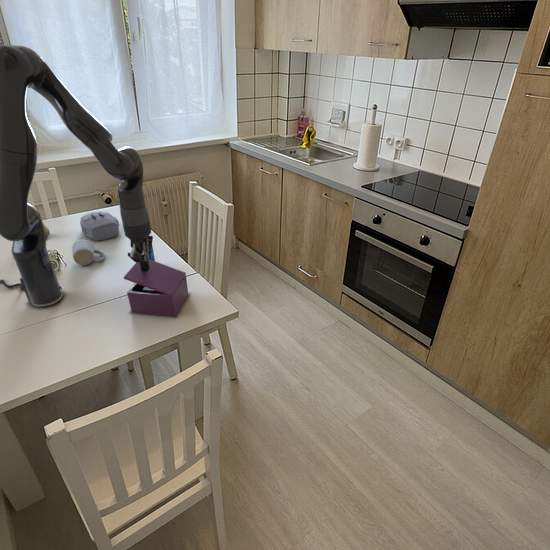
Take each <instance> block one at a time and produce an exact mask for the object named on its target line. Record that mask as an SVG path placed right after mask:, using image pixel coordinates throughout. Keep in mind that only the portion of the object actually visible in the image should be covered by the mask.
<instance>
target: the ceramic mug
mask: <svg viewBox="0 0 550 550" xmlns="http://www.w3.org/2000/svg"><path fill="white" fill-rule="evenodd" d="M95 254H96V255H99V256H101V257H97V256H95ZM104 258H105V253H104V252H102V251H101V250H98V249H96V248H95V245H94V244H93V242H92V241H90V240H88V239H78V240H76V241H75V242H74V243H73V245H72V259H73V261H74V262H75V263H76V264H78V265H79V266H87V265H88V266H89V265H90V264H91V263H93V261H95V262H101V261H103V260H104Z"/></svg>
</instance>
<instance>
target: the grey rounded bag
mask: <svg viewBox="0 0 550 550" xmlns="http://www.w3.org/2000/svg"><path fill="white" fill-rule="evenodd" d="M79 223H80V228H81V231H82V232H83V234H85V235H86V236H87V237H88V238H89V239H92V240H94V241H104V240H108V239H111V238H114V237H116V236H118V235H119V232H120V224H119V219H118V218H117V217H116V216H113V214H111V213H110V212H108V211H104V210H103V211H102V210H97V211H91V212H88V213H85V214H84V215H82V216H81V217H80V221H79Z"/></svg>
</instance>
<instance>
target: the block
mask: <svg viewBox="0 0 550 550" xmlns="http://www.w3.org/2000/svg"><path fill="white" fill-rule="evenodd" d="M142 292H143V293H153V294H162V293H161V292H158V291H155V290H153V289H150V288H147V287H145V286H144V288H143V289H142Z"/></svg>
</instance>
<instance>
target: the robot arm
mask: <svg viewBox="0 0 550 550" xmlns="http://www.w3.org/2000/svg"><path fill="white" fill-rule="evenodd" d="M27 89H32V90H33V91H35V92H36V93H38V94H39V95H40V96H42V98H44V99H45V100H46V101H47V102H48V103H49V104H50V105H51V106H52V107H53V109H54V110H55V111H56V113H57V114H58V116H59V118H60V120H61V121H62V123H63V125H64V126H65V127H66V129H68V130H67V131H69V132H70V133H71V134H72V135H73V136H74V137H75V138H76V139H77V140H78V141H79V142H80V143H82V145H84V146H85V147H86V148H87V149H88V150H90V151H91V153H92V154H93V156H94V158H95V159H96V161H98V163H99V165H100V166H101V167H102V168H103V170H104V171H105V172H106V173H107V174H108V175H109V176H111V177H112V178H114V179H116V180H119V181H120V182H119V185H118V186H117V188H116V195H117V196H116V197H117V200H118V205H119V214H120V218H121V224H122V227H123V233H124V236H125V237H126V238H127V239H129V242H130V248H131V251H128V252H127V257H128V258H129V259H130V260H132V261H133V262H134V263H136V262H140V266H141V270H142V271H146V272H147V271H148V270H149V269H150V267H149V261H148V259H149V254H151V249H152V246H153V240H154V239H153V238H154V236H153V235H151V234H152V227H151V222H150V216H149V211H148V208H147V203H146V198H145V194H144V189H143V188H144V164H143V163H144V162H143V159H142V157H141V155H140V153H139V152H138V151H137V150H136V149H135V148H133V147H130V146H124V147H122V148H120V149H117V147H116V146H115V145H114V144H113V143H112V141H113V134H112V133H111V132H110V131H109V129H108V128H107V127H105V126H104V125H103V124H102V123H101V122H100V121H99V120H98V119H97V118H95V116H93V114H91V113H90V111H88V110H87V109H86V107H84V106H83V104H81V102H80V101H79V100H78V99H76V97H75V96H74V95H73V94H72V93H71V92H70V90H69V89H68V88H67V87H66V86H65V84H64V83H63V82H62V81H61V80H60V79H59V77H58V76H57V75H56V74H55V73H54V71H53V70H52V69H51V68H50V66H49V65H48V64H47V62H46V61H44V59H43V57H41V56H40V55H39V54H38V53H37V52H36V51H35V50H33V49H32V48H30V47H27V46H24V45H13V44H0V236H1V237H2V238H3V239H5V240H7V241H9V242H12V245H11V249H10V250H11V251H10V252H11V254H12V257H13V259H14V262H15V264H16V267H17V270H18V272H19V275H20V277H19V281H20V283H15V284H10V285H8V284H7V283H6V282H5V280H4V279H1V280H0V283H1V284H2V285H3V286H4V287H5V288H9V289H10V288H16V287H20V289H21V291H23V292H24V294H25V297H26V299H27V301H28V304H31V305H32V306H33V307H36V308H46V307H51V306H53V305H55V304H57V303H58V302H60V301H61V300H62V299H63V298H64V293H63V288H62V286H61V285H60V282H59V280H58V277H57V273H56V271H55V268H54V266H53V265H54V264H53V262H52V259H51V257H50V254H49V251H48V248H47V237H46V236H45V233H44V229H43V226H42V222H41V219H42V218H41V219H40V217H39V214H38V213H37V211H38V210H37V209H36V208H35V207H34V206H33V205H31V204H30V203H28V199H29V193H30V191H31V187H32V184H33V181H34V179H35V175H36V170H37V163H38V142H37V139H36V135H35V133H34V130H33V128H32V127H31V125H30V122H29V120H28V117H27V112H26V111H27V110H26V98H27V97H26V96H27ZM36 210H37V211H36Z"/></svg>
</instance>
